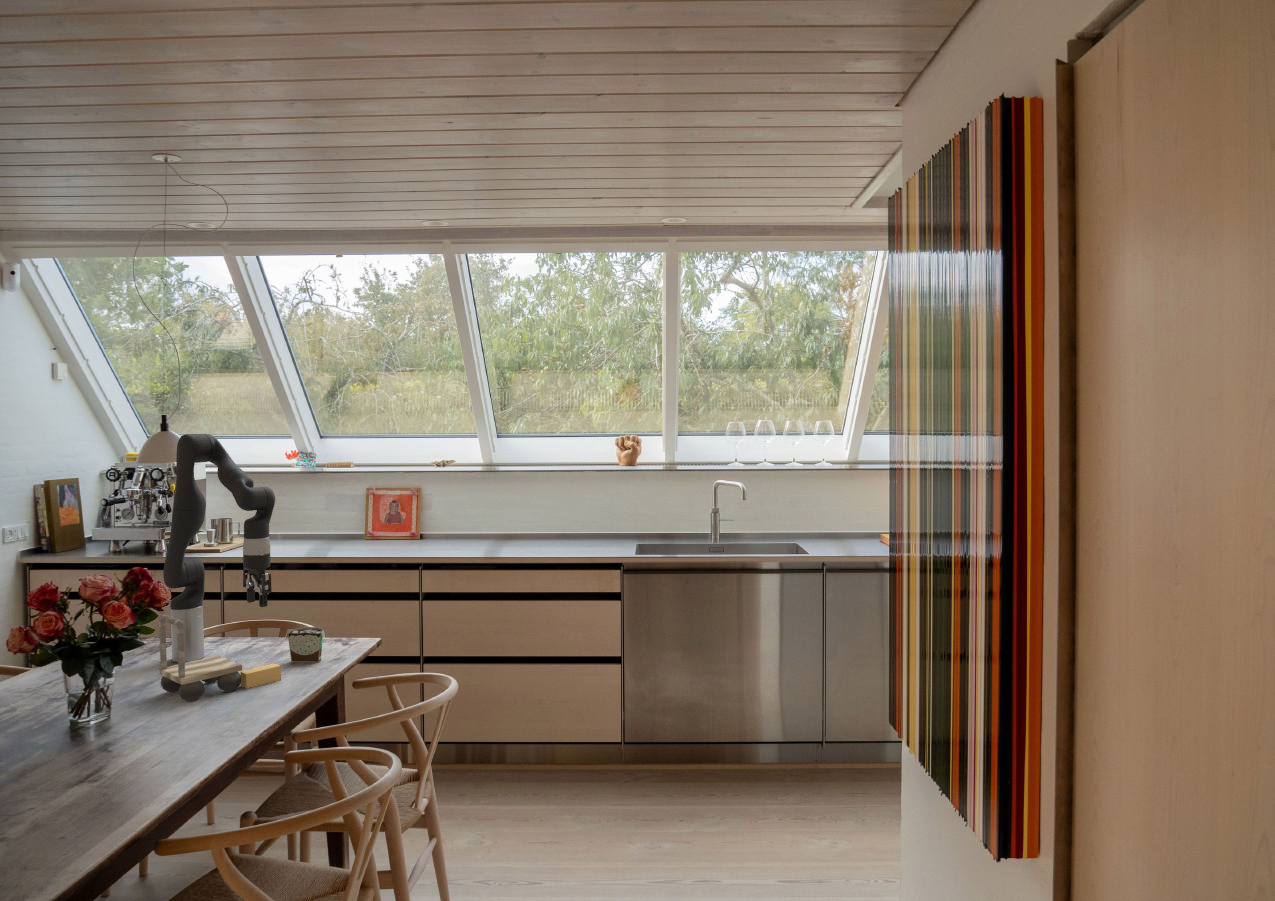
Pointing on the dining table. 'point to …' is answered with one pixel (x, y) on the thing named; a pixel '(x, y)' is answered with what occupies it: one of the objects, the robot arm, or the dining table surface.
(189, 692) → the trolley
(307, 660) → the food container
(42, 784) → the dining table surface
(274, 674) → the block
